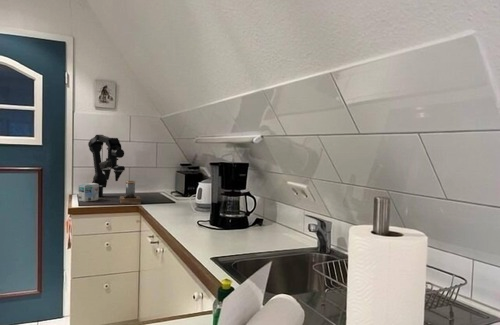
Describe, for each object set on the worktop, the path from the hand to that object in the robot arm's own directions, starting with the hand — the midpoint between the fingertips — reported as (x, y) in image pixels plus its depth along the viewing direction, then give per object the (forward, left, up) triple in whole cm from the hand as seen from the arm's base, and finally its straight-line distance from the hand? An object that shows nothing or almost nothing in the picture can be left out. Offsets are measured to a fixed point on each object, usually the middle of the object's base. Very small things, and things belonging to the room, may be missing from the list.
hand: (111, 180), depth 251 cm
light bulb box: (-2, -14, -13) cm, 19 cm away
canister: (+10, +11, -12) cm, 19 cm away
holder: (+10, +11, -13) cm, 20 cm away
